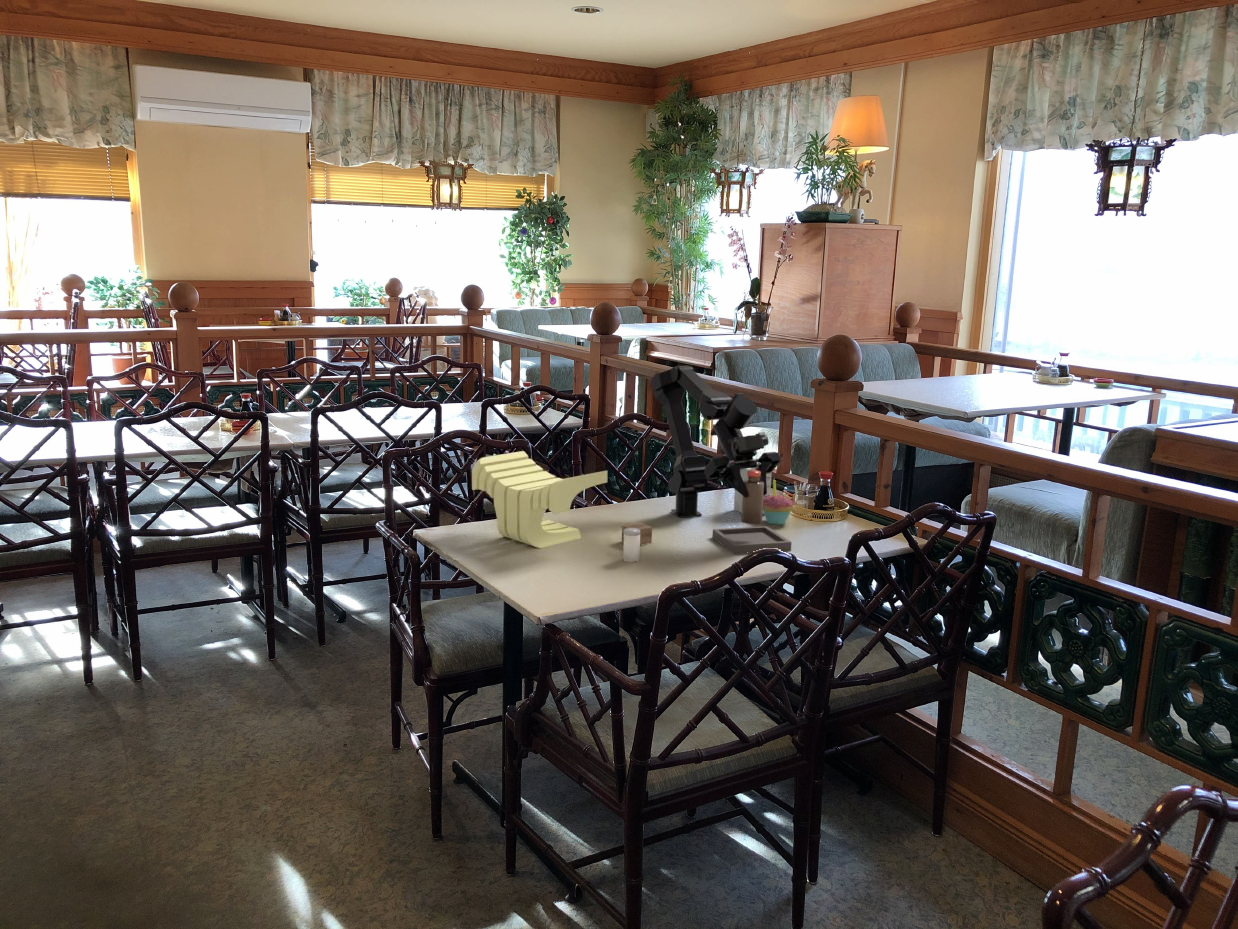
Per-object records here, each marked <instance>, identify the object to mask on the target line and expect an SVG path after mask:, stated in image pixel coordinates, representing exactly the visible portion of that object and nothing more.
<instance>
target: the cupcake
mask: <svg viewBox="0 0 1238 929" xmlns="http://www.w3.org/2000/svg"><path fill="white" fill-rule="evenodd" d="M776 482H777V480H775V477H773V479H772V488H773V489H772V490H773V494H770V495H768V496H766V497H764V498H763V511H764V513H765V514H764V517H765V519H766V521H765V522H766V523H768V524H771V525H784V524H786V522H787V518H788V517H789V515H790V513H791V512H792V511H793V510H794V501H793V500H792V499H791V498H789V497H788V496H786V495H783V494H777V484H776Z"/></svg>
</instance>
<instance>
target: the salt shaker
mask: <svg viewBox="0 0 1238 929" xmlns="http://www.w3.org/2000/svg"><path fill="white" fill-rule="evenodd" d="M622 552H623V556H622V557H623V558H622V559H624V560H625V561H624V560H623V561H624V562H627V561H630V562H629V563H634V562H633V561H637V562H639V561H640V560H641V556H640V555H641V554H640V552H641V545H640V529H638V528H626V529H624V542H623V551H622Z"/></svg>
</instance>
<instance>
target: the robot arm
mask: <svg viewBox="0 0 1238 929" xmlns="http://www.w3.org/2000/svg"><path fill="white" fill-rule="evenodd" d="M650 388H651V390H652V394H653V395H654V398H655V400H656V401H657V402H658V403H659V404H660V405H661V406H662V407H663V409H664V414H665V416H666V420H667V421H666V422H667V424H668V429H669V432H670V436H671V441H672V444H673V447H674V453H675V455H676V459H675V462H674V466H673V475H672V476H671V477H670V478H669V480H668V482H667V486H668V491H669V492H672V493H673V494H675V508H674V509H670V510H671V511H672V512H671V513H672V514H674V515H675V514H676V515H677V516H676V515H675V516H676V517H678V518H688V517H689V518H690V517H702V515H703V514H702V513H701V512H700V511H698V503H699V502H698V498H699V492H706V489H707V486H708V481H709V480H714V479H715V480H716V479H718V478H719V481H720V482H724V483H726V484H727V485H729V486H730V487H731V488H733V489H734V491H735V490H737V491H738V492H739V493H740V494H741V495H743V496H744V497H745V498H747V497H748V491H747V488H746V486H745V484H744V482H743V479H742V477H741V475H740V469H747V468H751V469H752V470H757V471H760V472H761V476H760V478H759V481H763V482H764V493H763V495H766V494H767V483H766V473H771V472H772V473H773V472H774V471H775V469H776V468H777V467H778V466H779V464H780V463H782V461H783V460H782V457H781V455H780V453H779V452H777V451H767V452H763V453H762V454H761V456H760V457H759V458H753V457H755V456H756V455H757V454H758V452H757V451H758V450H761V449H763V450H764V449H765V447H766V446H768V445H769V444H770V443H769V436H767V434H766V432H764V431H760V432H758V433H755V435H754V434H753V435H751V434H750V435H746V436H744V434H743V433H742V431H741V430H742V429H744V428H746V426H747V425H748V423H749V422H750V421H751V420H752V418H753V417H754V416H755V414H756V413H757V411H758V408H757V404H756V403H755V402H754V401H753V400H752V399H751V398H750V397H746V396H745V395H744V392H737V393H735V394H734V395H733V397H731V396H730V395H728V394H726V393H724V392H722V391H718V390H715V389H713V388H712V387H711V386H710V385H709V384H708V383H707V382H706V381H705V380H704V379H703V378H701V377H700V375H698V373H697V372H695V370H694V368H693V367H692V366H690V365H676V366H674V367H672V368H669V369H667V370H664V371H661V372H657V373H655V374H654V375H653V377H652V378H651V380H650ZM685 392H686V393H688V394H689V395H690V396H691V398H693V399H694V401H696V402H697V404H698V411H699V413H700V414H701V415H702V417H703V418H704V419H705V420H706V421H716V423H715V424H712V428H711V430H710V436H711V437H712V436H717V439H718V442H719V444H720V447H721V449H720V451H719V452H720V455H721V456H712V458H711V459H710V461H709V462H708V463H706V458H705V456H704V455H699V454H698V453H697V452H696V451H695V447H694V442H693V440H692V436H691V431H690V428H689V423H688V420H687V417H686V413H685V408H684V405H683V402H682V401H683V398H684V395H685ZM723 455H724V456H723ZM719 476H720V477H719Z"/></svg>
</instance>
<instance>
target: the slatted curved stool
mask: <svg viewBox="0 0 1238 929" xmlns="http://www.w3.org/2000/svg"><path fill="white" fill-rule="evenodd" d="M606 483H608V470H603V471H597V472H591V473H586V474H582V475H577V476H572V477H570V476H569V477H567V478H561V477H556V475H553V474H552V473H549V472H548V471H546V470H544V469H543V468H542V467H541V466H540V465H536V462H535V461H534V460H533V459H532V458H529V455H528V454H527V453H526V451H524V450H522V451H521V450H520V451H516V452H510V453H509V452H508V453H503V454H496V455H495V454H494V455H489V456H483V457H480V458H479V459H478V460H477V461H476V462H475V463H474V465H473V467H472V471H471V489H472V491H475V490H480V491H482V492H486V494H488V495H489V497H490V498H491V499H493V505H494V510H495V515H496V523H497V524H496V525H497V532H498V533H499V535H501V536H502V537H505V538H508V539H511V540H514V541H516V542H520V543H524V544H526V545H529V546H532V547H535V548H539V549H542V548H546V547H547V548H548V547H550V546H554V545H557V544H561V543H562V544H563V543H566V542H571V541H574V540H575V541H576V540H579V539H581V538H582V535H581V533H580V529H579V528H576V527H573V526H569V525H566V524H563V523H560V522H557V523H556V521H553V520H549V519H547V520H543V517H544V516H545V513H546V511H547V510H548V511H549V512H551V513H552V514H555V515H556V514H561V513H565V512H570V510H571V505H572V502H573V501H574V500H575V497H577V495H578V494H580V493H581V492H582V491H584V490H587V489H589V488H591V487H592V488H593V487H595V486H597V485H602V484H606Z"/></svg>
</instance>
